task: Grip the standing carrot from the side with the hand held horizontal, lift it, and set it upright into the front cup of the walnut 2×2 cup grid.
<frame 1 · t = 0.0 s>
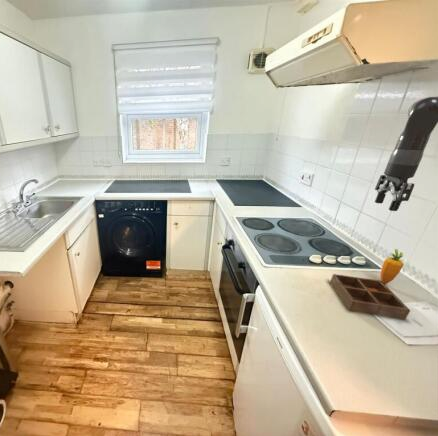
hand: (385, 206, 88), 30 cm above the worktop, tool pointing down, fingers open, 8 cm apart
grid: (363, 299, 85), on the worktop
carrot: (383, 284, 92), on the worktop
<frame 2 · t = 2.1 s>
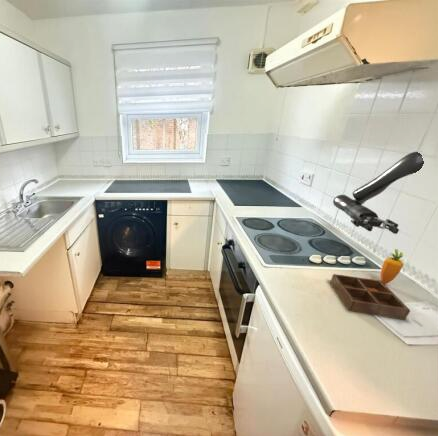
hand: (383, 230, 95), 18 cm above the worktop, tool horizontal, fingers open, 8 cm apart
nothing on the worktop moved.
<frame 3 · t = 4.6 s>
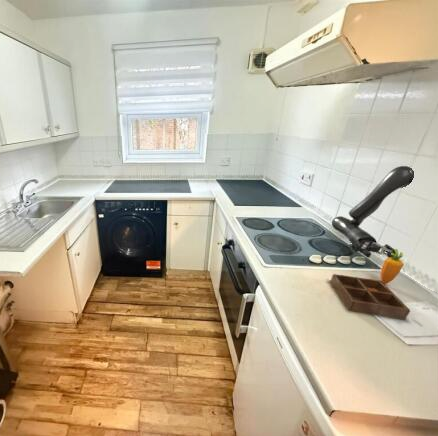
hand: (382, 257, 95), 8 cm above the worktop, tool horizontal, fingers open, 8 cm apart
nothing on the worktop moved.
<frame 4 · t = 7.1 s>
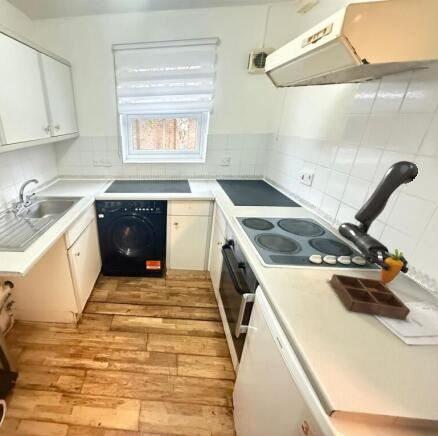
hand: (397, 270, 87), 8 cm above the worktop, tool horizontal, fingers closed on carrot, 4 cm apart
carrot: (383, 284, 92), on the worktop, touching gripper
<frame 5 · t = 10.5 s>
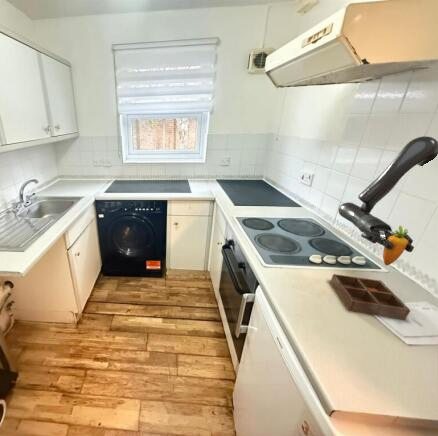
hand: (401, 248, 79), 20 cm above the worktop, tool horizontal, fingers closed on carrot, 4 cm apart
carrot: (386, 265, 85), point 11 cm above the worktop, touching gripper
when the fingers open (9 cm above the worktop, at t = 14.3 s): carrot stays where it is, resting on grid.
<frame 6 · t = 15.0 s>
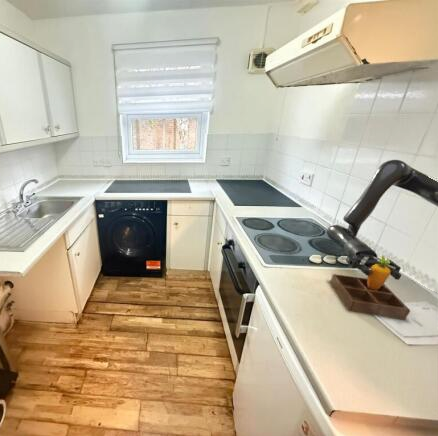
hand: (383, 275, 81), 10 cm above the worktop, tool horizontal, fingers open, 8 cm apart
carrot: (370, 292, 87), point 1 cm above the worktop, touching grid
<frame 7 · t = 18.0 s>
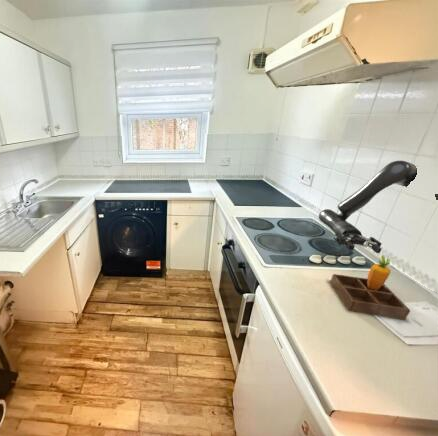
hand: (366, 249, 92), 13 cm above the worktop, tool horizontal, fingers open, 8 cm apart
nothing on the worktop moved.
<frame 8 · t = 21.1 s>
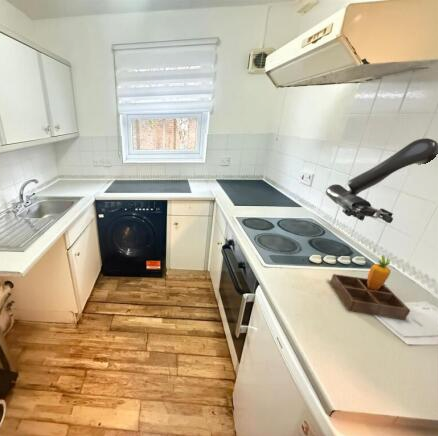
hand: (376, 219, 88), 25 cm above the worktop, tool horizontal, fingers open, 8 cm apart
nothing on the worktop moved.
at the end: carrot 0.2 cm from the target spot in the grid, point 0.6 cm above the grid's base; carrot tilted 0°; the gripper is holding nothing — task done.
